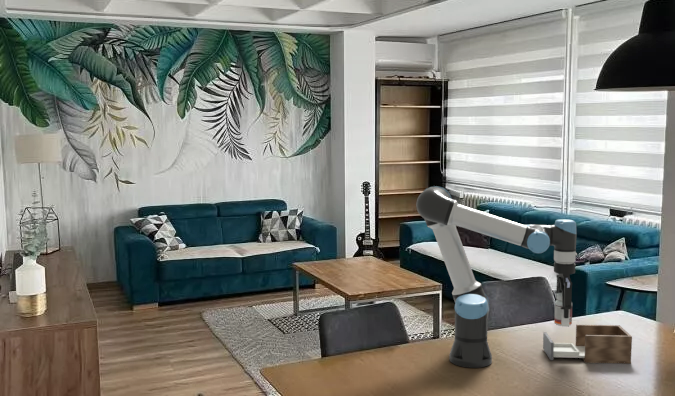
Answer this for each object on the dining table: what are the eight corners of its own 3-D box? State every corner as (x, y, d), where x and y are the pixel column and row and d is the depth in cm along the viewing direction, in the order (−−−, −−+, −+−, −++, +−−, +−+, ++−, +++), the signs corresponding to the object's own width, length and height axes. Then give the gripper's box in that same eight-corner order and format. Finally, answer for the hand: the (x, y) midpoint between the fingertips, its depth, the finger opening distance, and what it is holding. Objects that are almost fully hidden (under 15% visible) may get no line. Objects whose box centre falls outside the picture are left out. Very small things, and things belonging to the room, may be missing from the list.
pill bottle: (567, 321, 267) (567, 291, 266) (574, 326, 261) (575, 295, 260) (551, 322, 266) (552, 292, 265) (558, 327, 260) (559, 296, 259)
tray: (550, 360, 259) (550, 342, 258) (542, 348, 272) (543, 332, 271) (595, 361, 258) (595, 343, 257) (585, 349, 271) (586, 332, 270)
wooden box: (585, 362, 258) (586, 335, 256) (575, 350, 271) (576, 324, 270) (630, 363, 256) (632, 336, 255) (618, 351, 270) (619, 325, 269)
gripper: (582, 267, 251) (580, 331, 254) (568, 256, 270) (567, 316, 273) (560, 267, 252) (558, 331, 254) (548, 256, 271) (547, 316, 273)
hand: (563, 323), depth 264 cm, fingers closed on pill bottle, 6 cm apart
